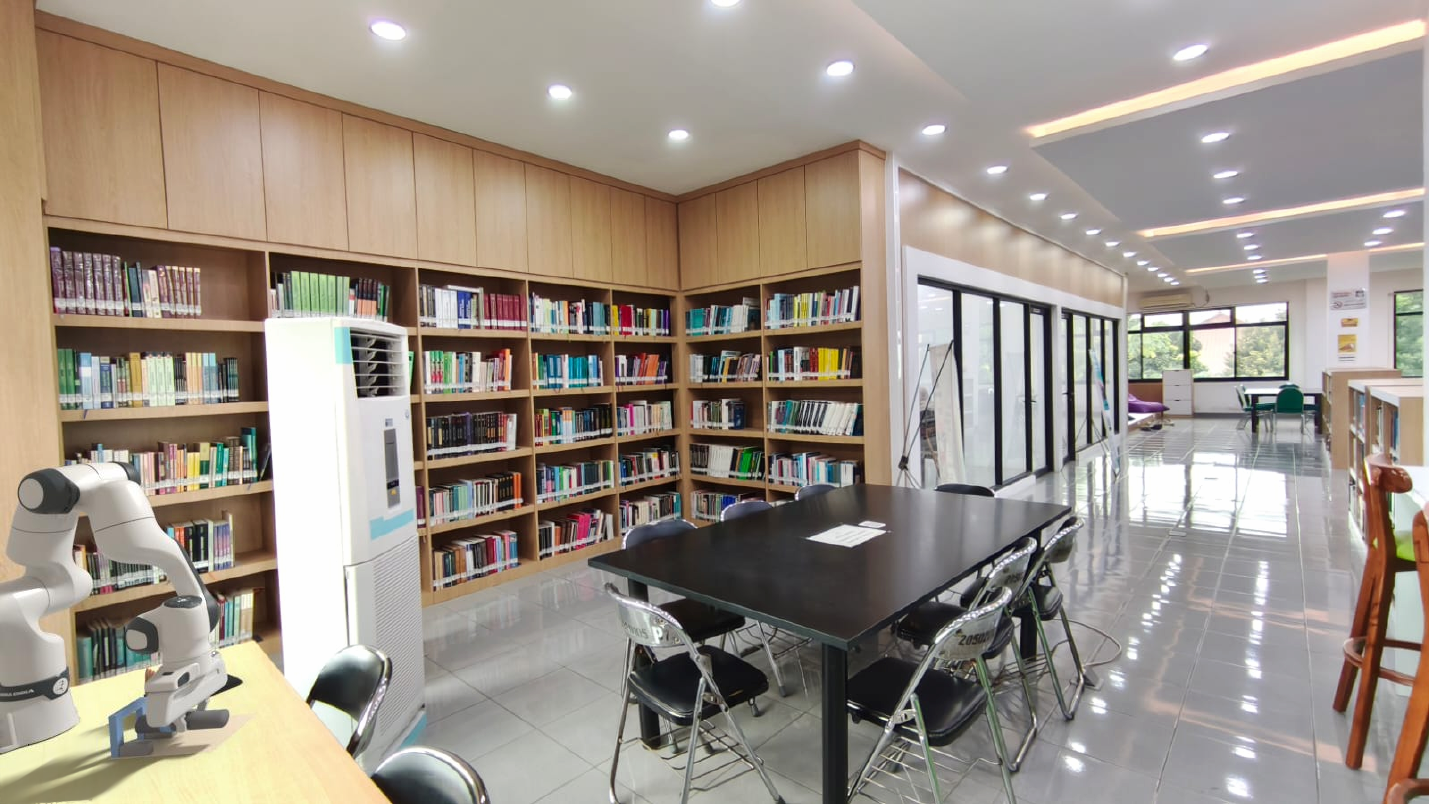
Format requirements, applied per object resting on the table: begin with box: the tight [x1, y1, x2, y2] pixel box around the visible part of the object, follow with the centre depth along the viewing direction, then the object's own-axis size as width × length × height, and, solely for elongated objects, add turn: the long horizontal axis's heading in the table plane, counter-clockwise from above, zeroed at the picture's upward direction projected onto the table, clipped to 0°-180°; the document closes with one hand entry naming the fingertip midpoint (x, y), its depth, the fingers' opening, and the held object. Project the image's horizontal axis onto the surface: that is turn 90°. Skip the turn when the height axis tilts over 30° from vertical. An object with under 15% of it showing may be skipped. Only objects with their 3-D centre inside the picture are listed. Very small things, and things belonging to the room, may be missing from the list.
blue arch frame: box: [107, 696, 147, 758], centre depth 146 cm, size 2×9×10 cm, turn 4°
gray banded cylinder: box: [134, 708, 230, 734], centre depth 146 cm, size 18×4×4 cm, turn 94°
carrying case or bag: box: [210, 673, 244, 698], centre depth 174 cm, size 11×3×15 cm
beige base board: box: [108, 708, 259, 760], centre depth 150 cm, size 22×17×4 cm
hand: (192, 724), depth 147 cm, fingers closed on gray banded cylinder, 4 cm apart
